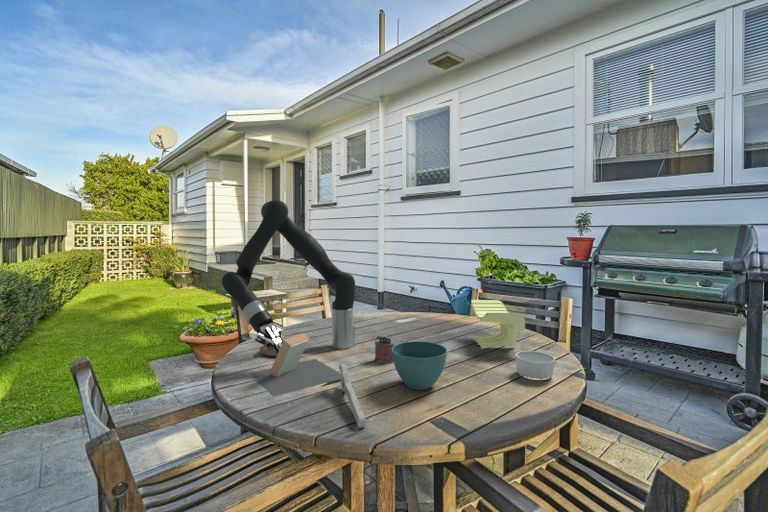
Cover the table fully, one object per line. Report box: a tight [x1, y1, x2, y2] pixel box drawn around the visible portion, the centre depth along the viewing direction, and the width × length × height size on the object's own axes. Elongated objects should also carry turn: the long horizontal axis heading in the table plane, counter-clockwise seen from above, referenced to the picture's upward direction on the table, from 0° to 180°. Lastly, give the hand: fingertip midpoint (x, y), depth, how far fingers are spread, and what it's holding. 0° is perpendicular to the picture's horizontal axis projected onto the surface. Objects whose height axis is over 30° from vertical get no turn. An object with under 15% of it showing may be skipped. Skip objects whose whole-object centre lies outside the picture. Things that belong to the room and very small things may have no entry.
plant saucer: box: [259, 340, 284, 359], centre depth 161 cm, size 18×18×3 cm
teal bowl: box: [392, 341, 448, 391], centre depth 128 cm, size 18×18×12 cm
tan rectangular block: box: [270, 332, 310, 377], centre depth 135 cm, size 3×10×14 cm, turn 153°
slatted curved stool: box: [470, 299, 526, 347], centre depth 174 cm, size 30×16×18 cm, turn 179°
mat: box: [248, 358, 342, 397], centre depth 134 cm, size 26×24×1 cm
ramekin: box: [514, 350, 556, 379], centre depth 137 cm, size 13×13×7 cm
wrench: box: [338, 363, 367, 429], centre depth 113 cm, size 8×2×30 cm
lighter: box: [374, 335, 395, 364], centre depth 151 cm, size 8×3×10 cm, turn 65°
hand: (283, 353), depth 136 cm, fingers closed
